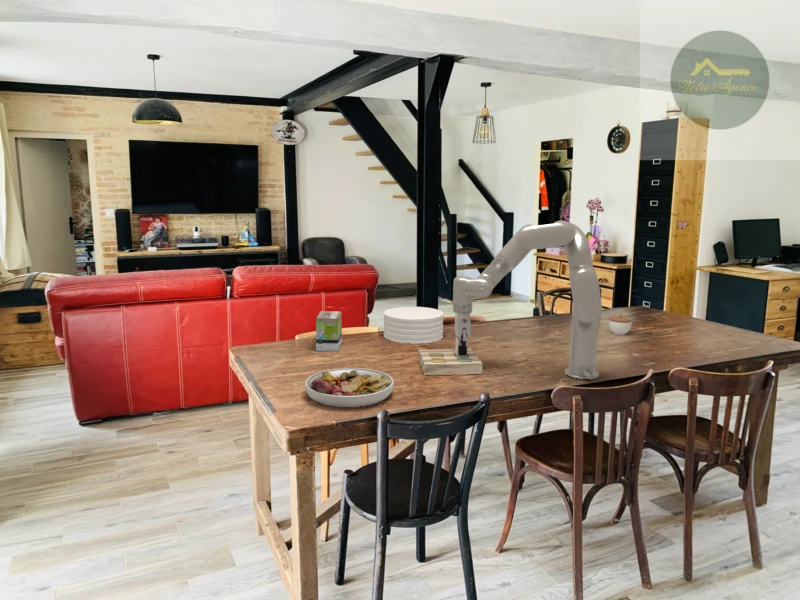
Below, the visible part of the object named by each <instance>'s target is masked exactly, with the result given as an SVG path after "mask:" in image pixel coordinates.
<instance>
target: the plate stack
mask: <svg viewBox="0 0 800 600" xmlns="http://www.w3.org/2000/svg"><path fill="white" fill-rule="evenodd" d="M443 322H444V312H443V311H442V310H439V309H437V308H432V307H426V306H425V307H424V306H400V307H392V308H388V309H386V310H384V311H383V338H384V337H385V338H384V339H385V340H387V339H388V341H390V340H391V341H390V342H393V341H394V342H393V343H398V342H399V343H400V344H407V343H410V344H412V345H415V344H417V345H420V343H421V345H422V343H423V344H431V343H436V342H438V341H441V340H442V339H443V337H444V334H443V332H444V323H443Z"/></svg>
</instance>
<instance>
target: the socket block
mask: <svg viewBox="0 0 800 600" xmlns="http://www.w3.org/2000/svg"><path fill="white" fill-rule="evenodd" d="M419 362H420V363H419ZM418 363H419V366H420V365H421V366H420V367H422V368H421V371H422V370H423V371H422V373H423V372H424V373H423V376H424V375H442V374H446V375H447V374H448V375H449V374H482V375H483V362H482V360H481V359H480V358H479V356H477V354H476V353H475V351H474V350H473V349H472V348H467V357H455V349H449V348H448V349H446V348H445V349H418Z"/></svg>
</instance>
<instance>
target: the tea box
mask: <svg viewBox="0 0 800 600" xmlns="http://www.w3.org/2000/svg"><path fill="white" fill-rule="evenodd" d="M342 313H343V312H342V311H337V310H336V311H331V310H330V311H327V310H326V311H325V310H320V312H318V314H317V316H316V318H315V320H316V321H315V323H316V324H315V327H316V328H315V335H316V336H315V350H316V351H318V352H319V351H320V352H338V351H339V350H340V348H341V344H342V342H343V341H342V337H343V335H342V333H343V332H342V331H343V329H342V328H343V327H342V326H343V325H342V324H343V323H342V322H343V321H342V319H343V318H342V316H343V314H342Z"/></svg>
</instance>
